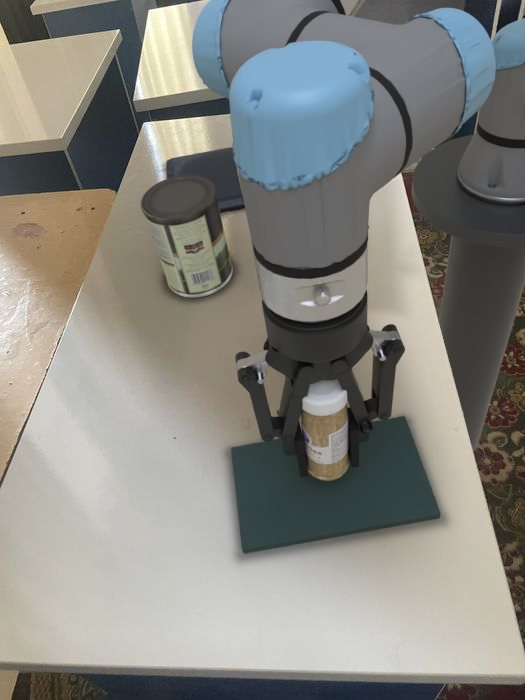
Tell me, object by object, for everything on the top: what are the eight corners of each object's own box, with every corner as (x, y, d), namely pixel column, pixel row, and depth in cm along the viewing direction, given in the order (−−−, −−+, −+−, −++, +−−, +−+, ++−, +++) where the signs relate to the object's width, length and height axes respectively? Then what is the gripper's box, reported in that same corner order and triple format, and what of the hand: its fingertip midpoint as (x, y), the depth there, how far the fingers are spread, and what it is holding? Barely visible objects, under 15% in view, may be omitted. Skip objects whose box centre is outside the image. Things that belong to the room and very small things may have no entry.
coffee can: (204, 244, 91) (184, 166, 81) (246, 271, 86) (231, 190, 75) (153, 278, 87) (125, 200, 77) (194, 308, 82) (170, 228, 71)
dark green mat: (404, 420, 65) (404, 415, 64) (439, 518, 57) (441, 513, 56) (232, 451, 65) (230, 447, 64) (243, 553, 57) (242, 549, 56)
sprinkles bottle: (296, 461, 58) (283, 380, 48) (328, 435, 60) (322, 352, 50) (326, 491, 56) (319, 412, 46) (359, 463, 57) (360, 381, 47)
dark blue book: (164, 153, 108) (243, 139, 108) (167, 162, 110) (244, 148, 110) (164, 213, 95) (253, 198, 95) (167, 222, 97) (255, 207, 96)
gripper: (194, 351, 37) (245, 509, 55) (455, 303, 37) (424, 477, 55) (189, 278, 43) (238, 444, 60) (419, 235, 42) (401, 414, 60)
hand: (327, 459), depth 57 cm, fingers closed on sprinkles bottle, 4 cm apart
